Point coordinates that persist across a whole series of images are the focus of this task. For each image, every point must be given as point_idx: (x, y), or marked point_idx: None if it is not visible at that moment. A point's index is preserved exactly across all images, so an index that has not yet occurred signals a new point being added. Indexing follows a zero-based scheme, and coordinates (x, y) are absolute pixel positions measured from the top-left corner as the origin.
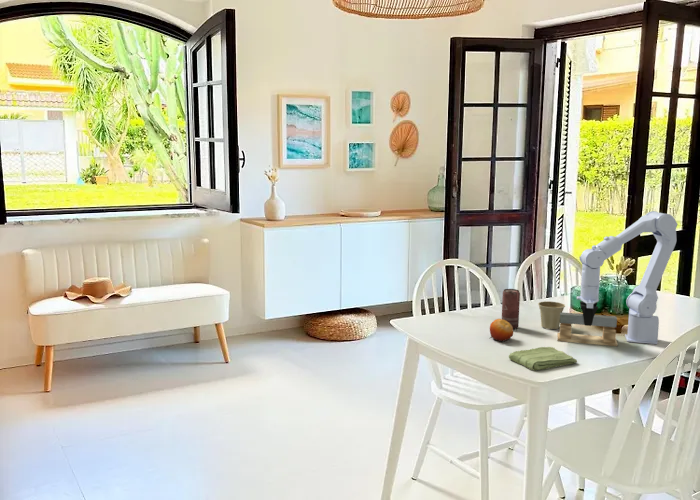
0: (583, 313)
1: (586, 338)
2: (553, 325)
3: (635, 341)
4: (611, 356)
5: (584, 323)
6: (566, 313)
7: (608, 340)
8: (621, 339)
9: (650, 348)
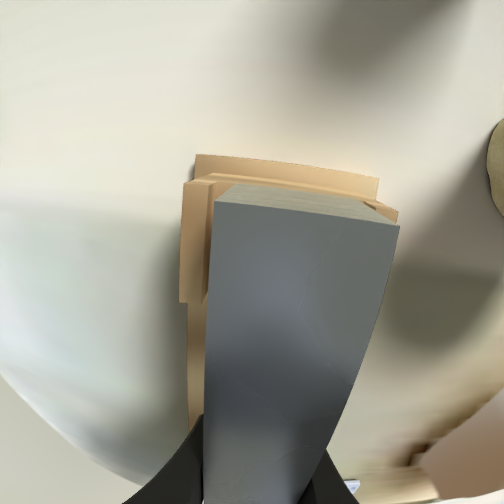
0: (134, 495)
1: None
2: (500, 178)
3: None
4: (47, 380)
5: (197, 423)
6: (318, 330)
7: None
8: None
9: None
